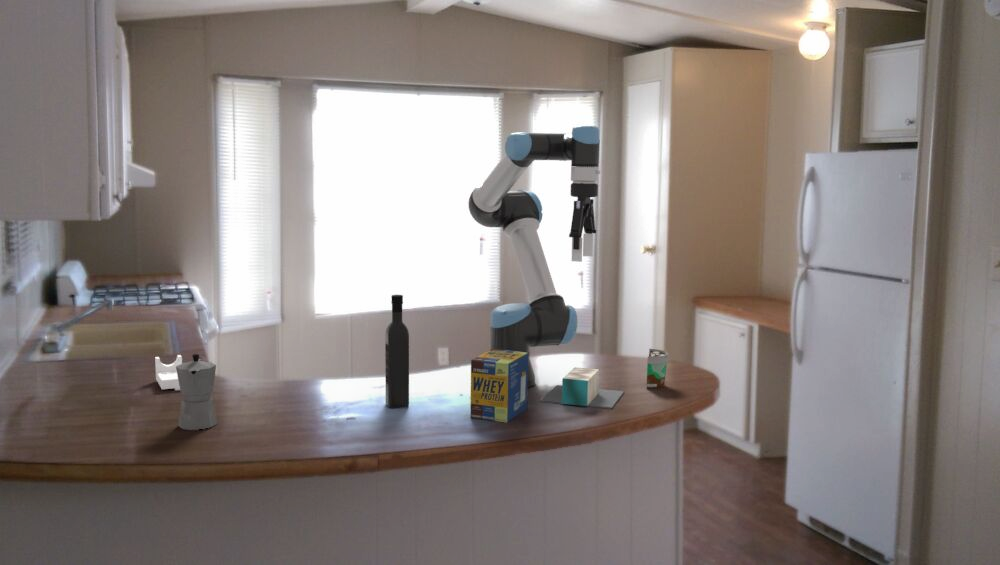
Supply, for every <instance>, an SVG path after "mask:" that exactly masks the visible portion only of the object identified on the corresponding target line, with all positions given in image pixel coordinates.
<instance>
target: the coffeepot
mask: <svg viewBox="0 0 1000 565" xmlns="http://www.w3.org/2000/svg"><path fill="white" fill-rule="evenodd" d="M191 356H192V361H189V362H188V361H187V362H182V364H181V365H178V366H176V370H177V375H178V380H179V386H180V390H179V391H180V393H181V394H182V400H181V402H180V410H179V418H178V423H177V425H178V427H179V428H180V429H182V430H184V431H200V430H199V429H203V430H206V429H205V428H208V429H211V428H213V427H212V426H214V425H215V426H216V425H217V424H218V419H217V418H218V417H217V415H216V408H215V404H214V399H213V398H212V392H214V387H215V386H214V384H215V376H216V370H217V369H216V368H217V364H215V363H213V362H211V361H205V360H204V361H203V359H202V357H200V354H198V353H193V354H192V355H191ZM215 426H214V427H215ZM210 427H211V428H210Z"/></svg>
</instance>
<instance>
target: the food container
mask: <svg viewBox="0 0 1000 565" xmlns="http://www.w3.org/2000/svg"><path fill="white" fill-rule="evenodd" d="M648 351H649V352H648V356H647V364H646V366H647V368H646V371H647V372H646V390H661V389H663V388H665V383H666V376H667V375H666V374H667V368H668V366H667V365H668V362H670V356H669V354H668V351H665V350H663V349H658V348H649V350H648Z"/></svg>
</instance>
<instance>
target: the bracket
mask: <svg viewBox="0 0 1000 565" xmlns="http://www.w3.org/2000/svg"><path fill="white" fill-rule="evenodd" d="M154 360H155V362H154V363H155V364H154V365H155V380H156V382H157V383H158V385H159V387H160V388H161V390H168V389H169V390H170V389H171V390H172V389H173V390H174V391H180V386H179V380H178V375H177V370H176V366H178V365H181V364H183V357H182V355H181V354H177V355H176V359H175V360H174V362H172V363H170V364H165V363H162V361H161V358H160V357H159V356H155V357H154Z"/></svg>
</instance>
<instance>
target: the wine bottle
mask: <svg viewBox="0 0 1000 565" xmlns="http://www.w3.org/2000/svg"><path fill="white" fill-rule="evenodd" d="M403 297H404V295H403V294H392V295H391V322H390V323H389V324H388V325H387V327H386V329H385V338H384V340H385V344H384V345H385V355H384V356H385V404H386V406H387V407H388V408H389V409H398V408H399V409H401V408H408V407H409V406H410V333H409V329H408V327H407V326H406V324H405V323H404V322H403V304H404V302H403V301H404V300H403V299H404V298H403Z"/></svg>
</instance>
